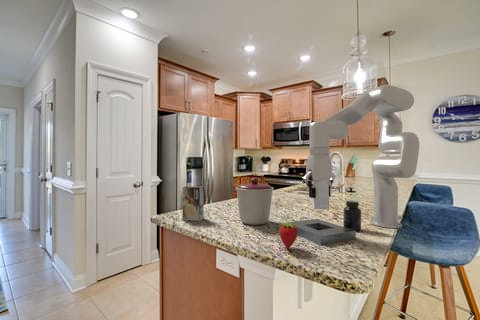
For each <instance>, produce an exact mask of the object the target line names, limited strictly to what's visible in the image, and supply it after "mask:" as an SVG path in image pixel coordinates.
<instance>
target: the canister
mask: <svg viewBox="0 0 480 320" xmlns="http://www.w3.org/2000/svg"><path fill="white" fill-rule="evenodd" d="M274 189H275V188H274V187H273V186H271V185H270V184H267V183H259V179H258V178H257V177H253V178H251V179H250V182H249V183H241V184H238V185H237V186H235V190H236V194H237V196H236V198H237V205H238V207H237V208H238V213H239V219H240V221H241V223H243V224H246V225H251V226H258V225H259V226H261V225H264V224H266V223H268V222H269V219H270V213H271V207H272V197H273V190H274Z"/></svg>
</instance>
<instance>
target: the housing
mask: <svg viewBox="0 0 480 320" xmlns="http://www.w3.org/2000/svg"><path fill="white" fill-rule="evenodd" d="M286 223H292V224H294V225H297V226H294V227H295V228H296V229H297V237H298V236H299V237H301V238H303V239H306V240H307V241H310V242H313V243H314V244H317V245H319V246H324V245H329V244H334V243H339V242H345V241H350V240H356V239H357V234H356V233H357V231H355V230H352V229H349V228H346V227H343V226H342V225H339V224H335V223H333V222H329V221H326V220H323V219H319V218H313V219H305V220H296V221H289V222H288V221H287V222H286ZM292 224H291V225H292Z"/></svg>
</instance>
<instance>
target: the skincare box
mask: <svg viewBox="0 0 480 320" xmlns="http://www.w3.org/2000/svg"><path fill="white" fill-rule="evenodd" d="M312 180H313V179H312ZM312 183H313V182H312ZM314 188H316V198H310V199H311V200H310V201H311V202H310V203H311V208H312V209H313V210H330V197H329V179H322V180H321V181H317V182H316V185H315V187H314Z"/></svg>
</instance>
